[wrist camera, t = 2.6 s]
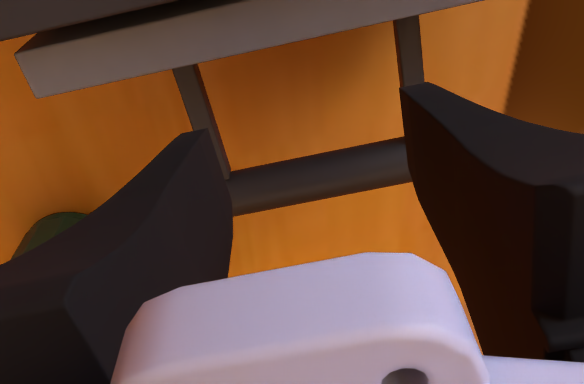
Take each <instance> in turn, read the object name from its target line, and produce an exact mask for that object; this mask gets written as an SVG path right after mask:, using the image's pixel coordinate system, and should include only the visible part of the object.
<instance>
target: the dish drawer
mask: <svg viewBox="0 0 584 384" xmlns="http://www.w3.org/2000/svg"><path fill="white" fill-rule="evenodd" d="M479 1H483V0H178V1H173V2H169V3H165V4H160V5H156V6H152V7H147V8H143V9H139V10H134V11H130V12H126V13H121V14H117V15H113V16H108V17H104V18H100V19H95V20H91V21H87V22H82V23H78V24H74V25H70V26H65V27H61V28H57V29H52V30H48V31H44V32H39V33H37V34H36V35H35V36H33V37H32V38H31V39H30V40H29V41H28V42H27V43H26V44H24V45H23V46H22V47H21V48H20V49H19V50H18V51H17V52H15V53H14V56H15V58H16V60H17V62H18V64H19V66H20V68H21V70H22V72H23V74H24V76H25V78H26V80H27V82H28V84H29V86H30V88H31V90H32V92H33V94H34V96H35V97H36V98H37V99H39V98H43V97H48V96H52V95H57V94H61V93H66V92H71V91H75V90H80V89H84V88H89V87H93V86H98V85H102V84H107V83H111V82H116V81H120V80H125V79H129V78H134V77H139V76H143V75H148V74H152V73H157V72H161V71H166V70H170V69H172V71H173V74H174V77H175V79H176V82H177V85H178V88H179V91H180V94H181V97H182V100H183V102H184V105H185V108H186V111H187V114H188V117H189V120H190V123H191V125H192V128H193V131H196V130H200V129H205V128H208V130H209V133H210V136H211V139H212V142H213V145H214V148H215V151H216V154H217V157H218V160H219V163H220V166H221V169H222V172H223V176H224V179H225V182H226V185H227V188H228V191H229V194H230V197H231V200H232V214H233V217H234V216H239V215H244V214H250V213H255V212H260V211H265V210H270V209H275V208H280V207H285V206H291V205H296V204H301V203H306V202H311V201H316V200H321V199H327V198H332V197H337V196H342V195H347V194H352V193H357V192H362V191H368V190H373V189H378V188H383V187H388V186H393V185H398V184H403V183H409V182H413V181H412V178H411V175H410V172H409V168H408V162H407V154H406V145H405V136H403V137H399V138H394V139H389V140H384V141H379V142H374V143H369V144H364V145H359V146H354V147H349V148H344V149H339V150H334V151H329V152H324V153H319V154H314V155H310V156H305V157H300V158H295V159H290V160H285V161H280V162H275V163H270V164H265V165H260V166H255V167H250V168H245V169H240V170H235V171H231V167H230V164H229V161H228V158H227V155H226V152H225V149H224V145H223V142H222V139H221V136H220V133H219V130H218V127H217V124H216V120H215V117H214V114H213V111H212V108H211V105H210V102H209V99H208V95H207V92H206V89H205V86H204V83H203V80H202V77H201V73H200V70H199V67H198V64H197V63H202V62H207V61H211V60H216V59H220V58H225V57H229V56H234V55H238V54H243V53H247V52H252V51H256V50H261V49H266V48H270V47H275V46H279V45H284V44H288V43H293V42H297V41H302V40H306V39H311V38H315V37H320V36H324V35H329V34H334V33H338V32H343V31H347V30H352V29H356V28H361V27H365V26H370V25H374V24H379V23H383V22H388V21H392V20H393V27H394V36H395V44H396V53H397V62H398V71H399V80H400V87H405V86H410V85H415V84H420V83H424V71H423V60H422V48H421V36H420V25H419V15H420V14H424V13H429V12H433V11H438V10H442V9H447V8H451V7H456V6H461V5H465V4H470V3H474V2H479Z"/></svg>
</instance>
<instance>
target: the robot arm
mask: <svg viewBox="0 0 584 384" xmlns="http://www.w3.org/2000/svg"><path fill="white" fill-rule="evenodd" d="M399 92H400V101H401V109H402V118H403V127H404V136H405V145H406V154H407V162H408V168H409V172H410V175H411V178H412V181H413V185H414V188H415V191H416V194H417V197H418V200H419V202H420V204H421V206H422V208H423V211H424V213H425V215H426V217H427V219H428V221H429V223H430V225H431V227H432V229H433V231H434V233H435V235H436V237H437V239H438V241H439V243H440V245H441V247H442V249H443V251H444V253H445V255H446V257H447V259H448V261H449V263H450V265H451V267H452V270H453V272H454V274H455V276H456V279H457V281H458V283H459V286H460V288H461V291H462V294H463V296H464V299H465V302H466V305H467V308H468V311H469V313H470V316H471V319H472V322H473V325H474V328H475V331H476V334H477V336H478V339H479V343H480V346H481V348H482V352H483V355H484V356H483V355H481V352H480V350H479V347H478V345H477V342H476V340H475V337H474V335H473V333H472V330H471V328H470V325H469V323H468V320H467V318H466V315H465V313H464V310H463V308H462V305H461V303H460V300H459V298H458V296H457V294H456V292H455V289H454V287H453V285H452V283H451V281H450V279H449V277H448V275H447V273H446V271H445V270H443V269H441V268H439V267H437V266H435V265H433V264H431V263H429V262H428V261H426V260H424V259H422V258H420V257H418V256H416V255H414V254H412V253H376V252H366V253H360V254H355V255H349V256H344V257H339V258H333V259H328V260H322V261H317V262H312V263H306V264H301V265H295V266H290V267H285V268H279V269H274V270H268V271H263V272H258V273H252V274H247V275H242V276H236V277H231V278H228V270H229V263H230V255H231V248H232V239H233V214H232V200H231V197H230V194H229V191H228V188H227V185H226V182H225V179H224V176H223V172H222V169H221V166H220V163H219V160H218V157H217V154H216V151H215V148H214V145H213V142H212V139H211V136H210V133H209V130H208V128H205V129H200V130H196V131H191V132H186V133H182V134H180V135H179V136H177V137H176V138H175V139H174V140H173V141H172V142H170V143H169V144H168V145H167V146H166V147H165V148H164V149H163V150H162V151H161V152H160V153H159V154H158V155H157V156H156V157H155V158H154V159H153V160H152V161H151V162H150V163H149V164H148V165H147V166H146V167H145V168H144V169H143V170H142V171H141V172H139V173H138V174H137V175H136V176H135V177H134V178H133V179H132V180H131V181H129V182H128V183H127V184H126V185H125V186H124V187H123V188H121V189H120V190H119V191H118V192H117V193H116V194H115V195H113V196H112V197H111V198H110V199H109V200H107V201H106V202H105V203H104V204H102V205H101V206H100V207H98V208H97V209H96V210H94V211H93V212H91V213H90V214H89V215H87V216H86V217H84V218H83V219H82V220H80V221H79V222H77V223H76V224H74V225H73V226H71V227H69V228H68V229H66V230H64V231H63V232H61V233H59V234H58V235H56V236H54V237H53V238H51V239H49V240H47V241H46V242H44V243H42V244H41V245H39V246H37V247H35V248H34V249H32V250H30V251H28V252H26V253H24V254H22V255H20V256H18V257H16V258H14V259H12V260H10V261H8V262H6V263H4V264H1V265H0V384H584V134H579V133H572V132H567V131H562V130H557V129H553V128H549V127H544V126H541V125H537V124H533V123H529V122H525V121H522V120H518V119H515V118H513V117H510V116H507V115H504V114H501V113H498V112H496V111H493V110H490V109H488V108H485V107H483V106H481V105H478V104H476V103H474V102H471V101H469V100H467V99H465V98H462V97H460V96H458V95H456V94H454V93H452V92H450V91H447V90H445V89H443V88H441V87H439V86H437V85H434V84H432V83H429V82H424V83H420V84H415V85H410V86H405V87H400V88H399Z"/></svg>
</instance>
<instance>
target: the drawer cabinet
mask: <svg viewBox="0 0 584 384" xmlns="http://www.w3.org/2000/svg"><path fill="white" fill-rule="evenodd" d="M173 1H178V0H0V41H5V40H9V39H13V38H18V37H22V36H26V35H31V34H35V33H39V32H44V31H48V30H52V29H57V28H61V27H65V26H70V25H74V24H78V23H82V22H87V21H91V20H95V19H100V18H104V17H108V16H113V15H117V14H121V13H126V12H130V11H134V10H139V9H143V8H147V7H152V6H156V5H160V4H165V3H169V2H173Z"/></svg>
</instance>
